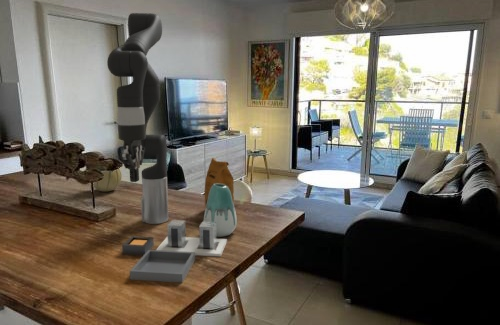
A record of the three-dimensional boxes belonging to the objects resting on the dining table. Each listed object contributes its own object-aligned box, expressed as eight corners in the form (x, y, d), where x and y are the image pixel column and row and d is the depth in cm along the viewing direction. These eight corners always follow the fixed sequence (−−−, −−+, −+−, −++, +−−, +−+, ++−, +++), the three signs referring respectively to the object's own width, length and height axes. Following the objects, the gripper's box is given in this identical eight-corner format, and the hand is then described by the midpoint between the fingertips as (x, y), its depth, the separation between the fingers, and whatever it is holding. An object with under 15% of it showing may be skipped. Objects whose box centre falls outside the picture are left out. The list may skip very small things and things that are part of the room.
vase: (241, 229, 134) (241, 181, 130) (229, 241, 123) (229, 190, 120) (212, 225, 138) (211, 178, 134) (198, 237, 127) (196, 186, 123)
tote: (130, 283, 96) (129, 271, 96) (149, 260, 109) (148, 249, 108) (182, 286, 95) (182, 274, 94) (195, 263, 108) (195, 252, 107)
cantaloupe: (92, 188, 188) (90, 159, 185) (122, 186, 192) (121, 157, 189) (89, 196, 174) (86, 165, 171) (122, 193, 178) (120, 163, 175)
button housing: (123, 257, 111) (122, 245, 110) (132, 247, 118) (132, 236, 117) (145, 259, 110) (144, 246, 109) (153, 249, 117) (153, 237, 116)
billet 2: (199, 254, 114) (198, 226, 112) (203, 248, 118) (202, 221, 116) (213, 255, 113) (213, 227, 111) (216, 248, 118) (216, 222, 116)
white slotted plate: (155, 256, 112) (155, 250, 112) (167, 241, 123) (167, 236, 122) (220, 260, 110) (220, 253, 109) (227, 244, 121) (226, 239, 120)
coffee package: (221, 205, 161) (221, 156, 157) (236, 213, 151) (236, 160, 147) (201, 209, 156) (200, 158, 151) (215, 218, 145) (214, 163, 141)
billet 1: (168, 252, 115) (167, 225, 113) (172, 246, 119) (171, 220, 117) (181, 253, 114) (181, 225, 112) (186, 247, 119) (185, 220, 117)
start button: (128, 252, 112) (128, 245, 111) (134, 246, 116) (134, 239, 116) (142, 253, 111) (142, 246, 111) (148, 247, 116) (147, 240, 115)
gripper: (134, 125, 99) (137, 187, 103) (152, 121, 112) (154, 176, 116) (107, 124, 100) (112, 186, 103) (128, 120, 113) (131, 175, 116)
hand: (134, 181), depth 110 cm, fingers closed
